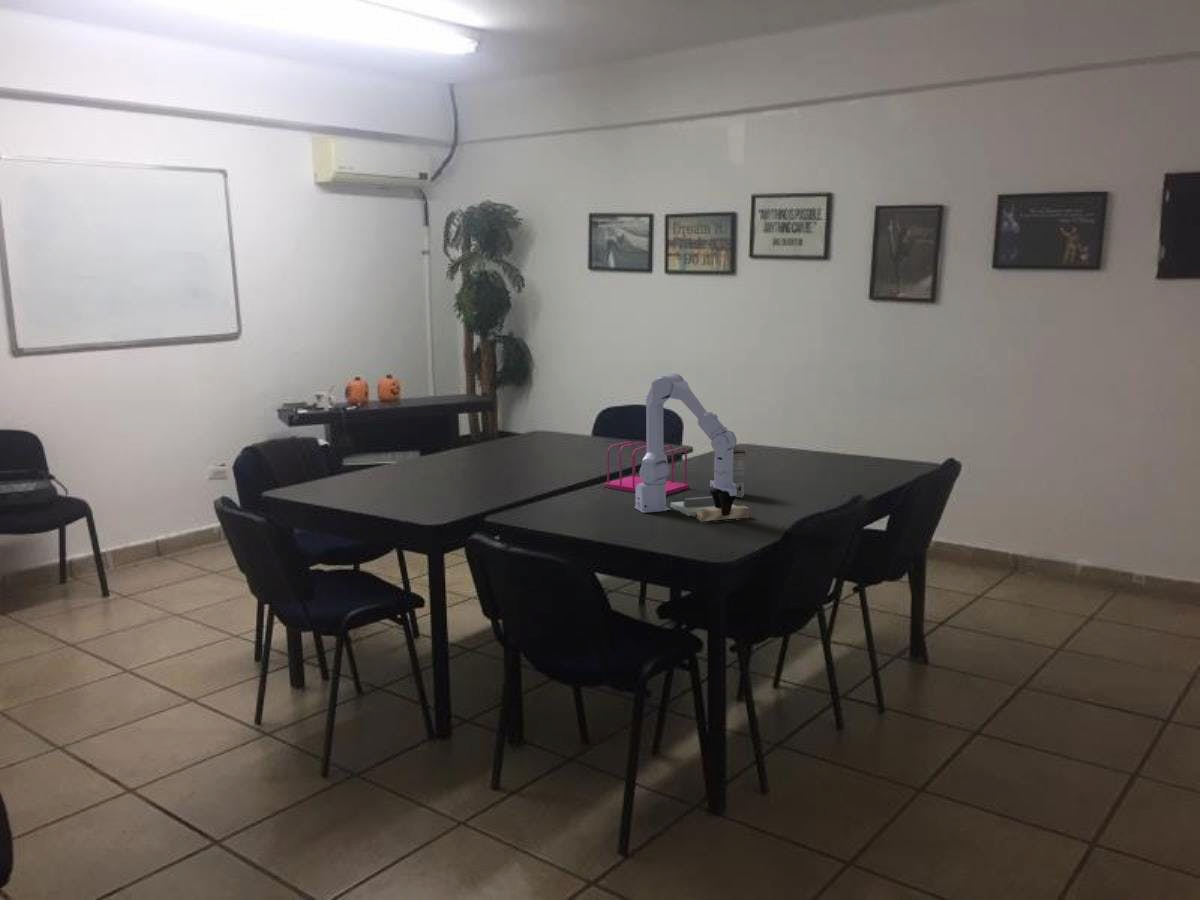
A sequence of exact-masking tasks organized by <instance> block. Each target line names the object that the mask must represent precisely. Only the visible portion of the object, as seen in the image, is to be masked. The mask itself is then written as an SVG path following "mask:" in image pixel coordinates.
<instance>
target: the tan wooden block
mask: <svg viewBox="0 0 1200 900" xmlns="http://www.w3.org/2000/svg"><path fill="white" fill-rule="evenodd" d="M743 517H744V518H745V517H750V507H747V506H745V505H735V506H732V507H731V511H730V514H729V515H728V516H722V511H721V507H720V508H708V509H697V516H696V520H697V519H699V520H701V521H709V520H721V519H732V518H743Z"/></svg>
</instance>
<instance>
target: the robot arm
mask: <svg viewBox="0 0 1200 900" xmlns="http://www.w3.org/2000/svg"><path fill="white" fill-rule="evenodd" d="M645 397H646V398H645V399H646V400H645V404H646V405H645V409H646V410H645V411H646V413H645V414H646V415H645V417H646V424H645V425H646V428H645V429H646V434H645V435H646V438H645V439H646V441H645V443H646V444H647V453H646V452H645V455H644V456H643V457H642V459H641V466H640V468H639V471H638V473H639V477H641V479H642V480H643V483H640V484H637V485H636V489H635V492H634V493H635V497H634V498H635V506H634V509H636V510H638V511H640V512H641V513H643V514H645V513H646V514H647V513H656V512H666V511H667V510H670V511H671V508H670V507H668V506H667V505H666V503H667V501H666V499H667V498H666V497H667V495H666V481H667V478H668V476H669V475H670V473H671V469H670V465H669V462H668V456H667V455H666V454H664V452H665V451H664V449H665V448H664V405H665V403H666V402H667V401H668V400H669V399H674V400H679V401H681V402H682V403H683V404H684V406H686V407H687V408H688V409H689V411H691V413H692V414H693V415H694V416H695V417H696V418H697V425H698V426H699V427H700V429H701V430H702V431H703V433H704V434H705V435H706V436H707V437H708V439H709V440H710V441H711V442H710V444H711V448H712V449H713V451H714V456H713V457H714V458H713V459H714V462H713V463H714V464H713V465H714V466H713V480H711V479H710V481H709V486H710V487H711V488H713V489H710V490H709V493H710V496H712V497H713V500H714V504H715V508H720V507H721V511H722V516H728V515H729V514H730V511H731V507H732V504H733V505H734V501H735V499H737V498H736V497H737V489H735V487H736V484H734V483H733V447H734V448H736V445H737V437H736V435H735V432H734V431H732V430H729V429H728V428H727V427H726V426H724V424H722V423H721V421H720V420H719V416H718V415H717V414H716V413H715V414H714V413H713V412H709V411H707V410H706V408H705V407H704V406H703V405H702V403H701V401H700V400H699V399H698V398H697V396H696V395H695V394H694V393H693V391H692V390H691V388H690V387H689V384H688V382H687V381H686V380H685V379H684V378H683V377H682V375H680V374H679V373H673V374H669V375H660V376H658V377H657V378H655V379H654V380H653V381H651V387H650V389H649V391H648V393H647V395H646V396H645ZM667 512H668V511H667Z"/></svg>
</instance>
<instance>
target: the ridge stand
mask: <svg viewBox="0 0 1200 900" xmlns="http://www.w3.org/2000/svg"><path fill="white" fill-rule="evenodd" d="M669 505H670V506H671V507H673V508H674V509H673V508H672V509H673V510H675V509H676V510H678V511H680V512H682V513H684V514H686V515H688V516H689V515H697V509H708V508H715V504H714V500H713V497H712V495H709V496H708V495H707V496H698V497H688V498H687V497H686V498H683V501H675V502H673V501H672V502H670V503H669ZM732 506H736V505H735V504H734V503H733V504H732ZM671 507H670V508H671ZM676 510H675V511H676ZM678 511H677V512H678ZM680 512H679V513H680ZM682 513H681V514H682ZM684 514H683V515H684Z"/></svg>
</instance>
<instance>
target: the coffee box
mask: <svg viewBox="0 0 1200 900" xmlns="http://www.w3.org/2000/svg"><path fill="white" fill-rule="evenodd" d="M745 465H746V451H745V450H742V449H739V448H738V447H737V448H736V447H733V483H734V484H736V487H735V489H737V497H741V498H743V497H742V496H744V497H745V472H746V471H745V469H746V467H745Z"/></svg>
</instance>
